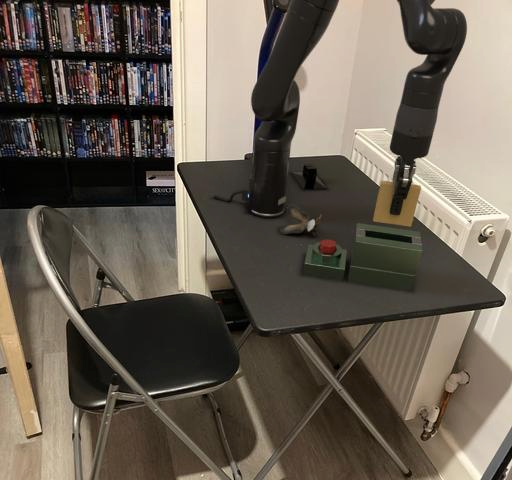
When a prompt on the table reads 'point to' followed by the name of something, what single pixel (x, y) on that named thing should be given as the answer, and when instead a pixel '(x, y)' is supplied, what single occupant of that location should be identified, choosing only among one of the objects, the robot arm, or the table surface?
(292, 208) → the eagle figurine
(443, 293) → the table surface
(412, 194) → the toast
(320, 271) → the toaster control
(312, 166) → the black block on base
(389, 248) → the toaster
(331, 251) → the button
